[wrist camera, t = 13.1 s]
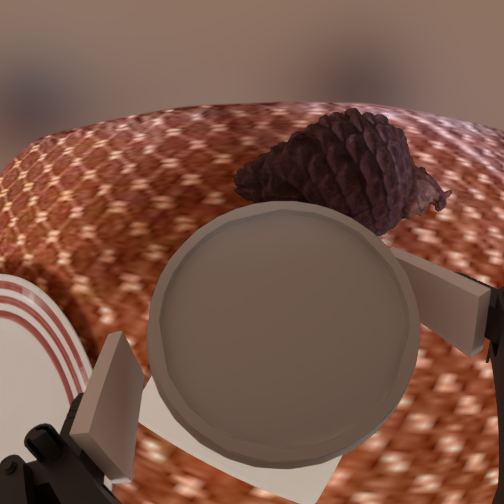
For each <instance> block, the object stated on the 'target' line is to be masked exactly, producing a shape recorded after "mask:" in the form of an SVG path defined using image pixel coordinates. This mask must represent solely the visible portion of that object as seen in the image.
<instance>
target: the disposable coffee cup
mask: <svg viewBox="0 0 504 504" xmlns="http://www.w3.org/2000/svg"><path fill="white" fill-rule="evenodd" d="M419 343H420V318H419V312H418V307H417V302H416V298H415V295H414V292H413V290H412V287H411V284H410V281H409V279H408V276H407V274H406V272H405V271H404V269H403V268H402V266H401V265H400V263H399V262H398V260H397V259H396V257H395V256H394V255H393V253H392V252H391V250H390V249H389V248H388V247H387V246H386V245H385V244H384V243H383V242H382V241H381V240H380V239H379V238H378V237H377V236H376V235H375V234H374V233H373V232H371V231H370V230H368V229H367V228H365V227H364V226H363V225H361V224H360V223H358V222H357V221H355V220H354V219H352V218H350V217H348V216H346V215H344V214H341V213H339V212H337V211H335V210H332V209H329V208H326V207H323V206H319V205H315V204H309V203H303V202H296V201H270V202H263V203H257V204H252V205H248V206H245V207H241V208H237V209H235V210H232V211H230V212H228V213H225V214H223V215H221V216H219V217H217V218H215V219H214V220H212V221H210V222H209V223H207V224H206V225H204V226H203V227H201V228H200V229H198V230H197V231H196V232H195V233H194V234H193V235H192V236H191V237H190V238H188V239H187V240H186V241H185V242H184V243H183V244H182V246H181V247H180V248H179V249H178V250H177V251H176V252H175V254H174V255H173V256H172V257H171V258H170V260H169V262H168V263H167V265H166V267H165V268H164V270H163V272H162V274H161V275H160V277H159V280H158V283H157V285H156V288H155V291H154V293H153V296H152V299H151V305H150V313H149V320H148V325H147V353H148V359H149V365H150V371H151V374H152V377H153V380H154V382H155V385H156V388H157V390H158V393H159V395H160V397H161V399H162V400H163V402H164V403H165V405H166V407H167V408H168V410H169V411H170V413H171V415H172V416H173V418H174V419H175V420H176V421H177V422H178V423H179V424H180V425H181V426H182V427H183V428H184V429H185V430H186V431H187V432H188V433H189V434H190V435H191V436H193V437H194V438H195V439H196V440H197V441H198V442H199V443H200V444H202V445H204V446H205V447H207V448H209V449H211V450H212V451H214V452H216V453H218V454H220V455H221V456H223V457H225V458H227V459H230V460H233V461H236V462H239V463H243V464H246V465H249V466H253V467H258V468H271V469H295V468H301V467H307V466H313V465H318V464H323V463H325V462H327V461H330V460H332V459H334V458H336V457H339V456H341V455H343V454H345V453H347V452H350V451H352V450H353V449H355V448H356V447H358V446H359V445H360V444H362V443H363V442H364V441H366V440H367V439H368V438H370V437H371V436H372V435H373V434H375V433H376V432H377V431H378V430H379V428H380V427H381V426H382V425H383V424H384V423H385V422H386V420H387V419H388V418H389V417H390V416H391V415H392V413H393V412H394V411H395V409H396V407H397V405H398V404H399V402H400V400H401V398H402V396H403V395H404V393H405V391H406V388H407V386H408V383H409V381H410V378H411V376H412V373H413V371H414V368H415V366H416V361H417V355H418V349H419Z"/></svg>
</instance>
